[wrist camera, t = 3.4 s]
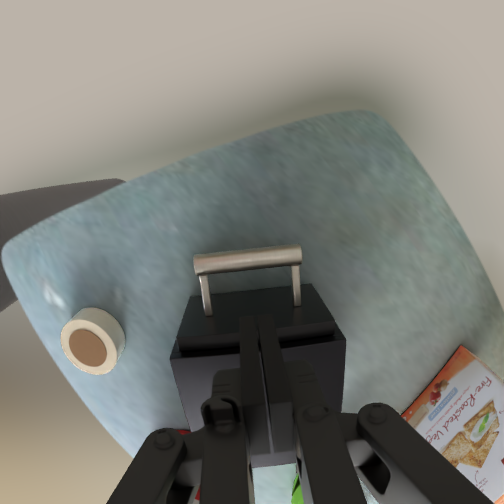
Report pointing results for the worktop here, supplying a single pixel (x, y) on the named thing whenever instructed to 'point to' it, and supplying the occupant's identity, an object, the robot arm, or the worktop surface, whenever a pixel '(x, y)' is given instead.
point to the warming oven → (209, 362)
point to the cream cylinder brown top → (93, 340)
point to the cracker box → (465, 420)
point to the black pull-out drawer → (252, 302)
